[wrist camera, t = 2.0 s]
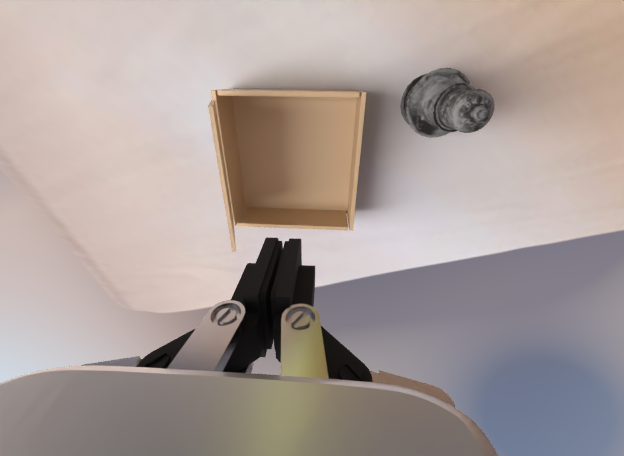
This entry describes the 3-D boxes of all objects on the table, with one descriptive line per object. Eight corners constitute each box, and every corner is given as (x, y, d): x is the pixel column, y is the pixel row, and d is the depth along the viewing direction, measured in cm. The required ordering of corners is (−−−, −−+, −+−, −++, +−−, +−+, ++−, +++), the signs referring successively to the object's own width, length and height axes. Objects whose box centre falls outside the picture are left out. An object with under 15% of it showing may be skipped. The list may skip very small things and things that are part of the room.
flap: (212, 106, 19) (208, 106, 19) (235, 251, 25) (232, 251, 25) (214, 100, 24) (211, 100, 24) (233, 220, 30) (230, 221, 30)
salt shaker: (458, 64, 26) (546, 52, 15) (453, 126, 29) (524, 152, 18) (397, 75, 27) (441, 71, 16) (398, 135, 29) (435, 165, 19)
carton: (361, 90, 28) (367, 92, 23) (350, 212, 34) (353, 231, 30) (229, 89, 28) (210, 90, 24) (244, 208, 35) (232, 226, 31)
